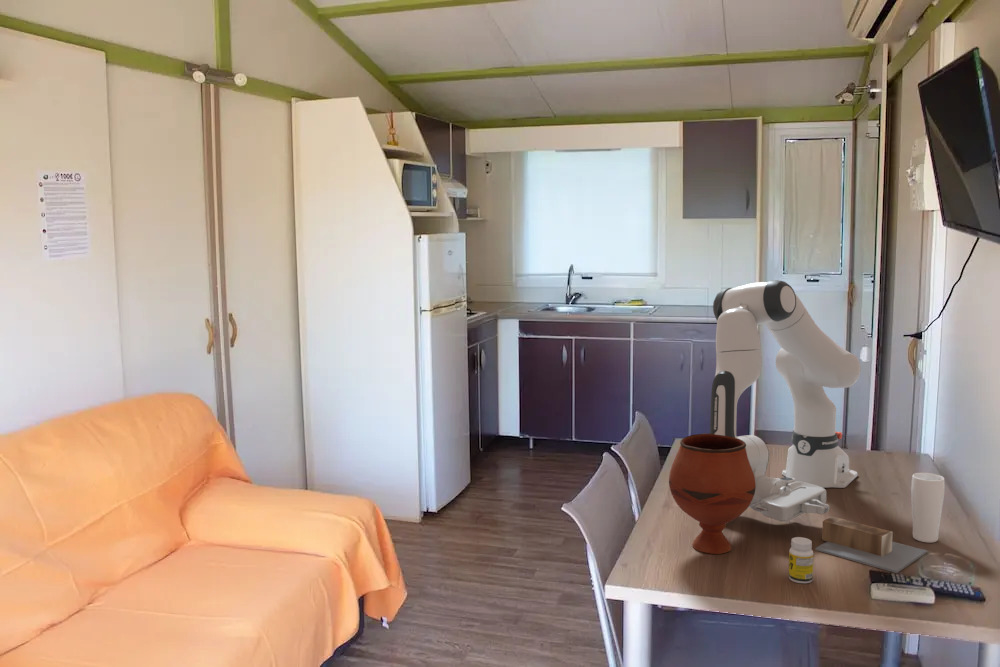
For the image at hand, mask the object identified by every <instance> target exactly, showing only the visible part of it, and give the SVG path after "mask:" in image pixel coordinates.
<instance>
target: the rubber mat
mask: <svg viewBox="0 0 1000 667" xmlns="http://www.w3.org/2000/svg"><path fill="white" fill-rule="evenodd" d="M815 551H818V552H821V553H824V554H827V555H831V556H835V557H839V558H842V559H845V560H849V561H852V562H856V563H860V564H863V565H866V566H870V567H873V568H877V569H881V570H883V571H886V572H891V573H895V574H897V573H899V572H901V571H902V570H904V569H905V568H907V567H908V566H910V565H912V563H914V562H916V561H917V560H919V559H920V558H922V557H924V556H925V555H926V554H928V550H927V549H923V548H919V547H915V546H911V545H907V544H903V543H899V542H895V541H892V551H891V552H890V553H888V554H886V555H885V556H883V557H882V556H879V555H875V554H871V553H868V552H864V551H861V550H857V549H853V548H850V547H846V546H843V545H839V544H836V543H832V542H828V541H824V542H823V543H822V544H820V545H818V546H816V547H815ZM921 556H922V557H921Z"/></svg>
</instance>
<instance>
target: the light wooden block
mask: <svg viewBox="0 0 1000 667" xmlns="http://www.w3.org/2000/svg"><path fill="white" fill-rule="evenodd" d="M893 533H894V532H893V531H891V530H888V529H883V528H879V527H875V526H871V525H868V524H863V523H860V522H856V521H851V520H848V519H844V518H841V517H840V518H839V517H836V516H830V517H828V518H826V519H824V520H822V536H821V538H822V539H821V540H823V541H824V542H827V541H828V542H832V543H836V544H839V545H843V546H846V547H850V548H853V549H857V550H861V551H864V552H868V553H871V554H875V555H879V556H882V557H883V556H885V555H886V554H888V553H890V552H891V551H892V542H893V536H894V534H893Z"/></svg>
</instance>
